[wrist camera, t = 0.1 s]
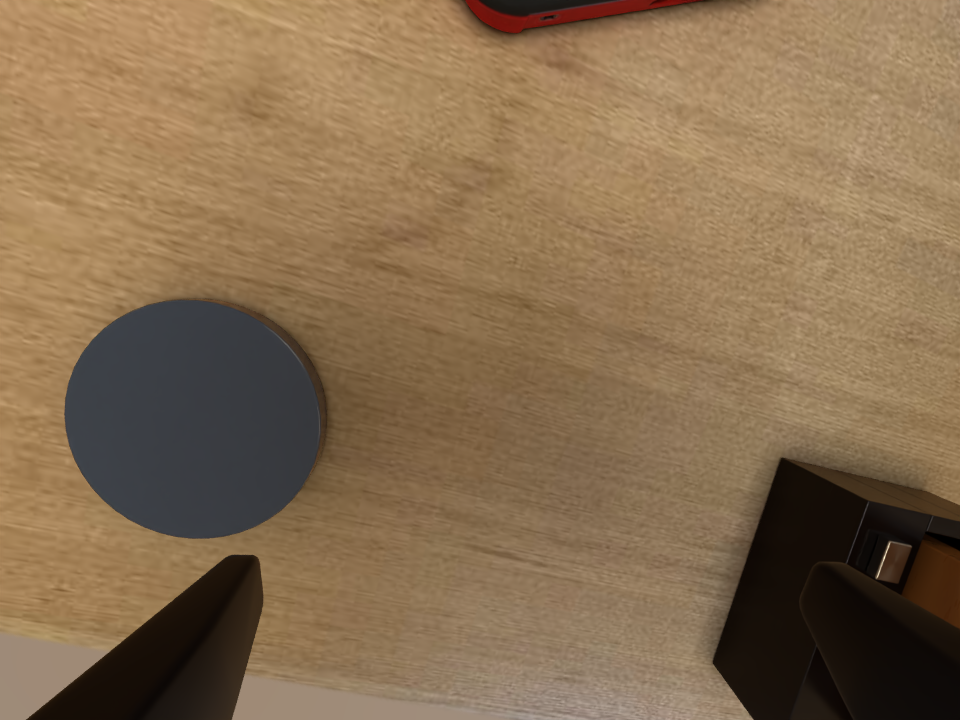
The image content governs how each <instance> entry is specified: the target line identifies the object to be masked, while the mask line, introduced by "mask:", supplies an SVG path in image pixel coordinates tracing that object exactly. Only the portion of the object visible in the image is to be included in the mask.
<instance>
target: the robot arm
mask: <svg viewBox="0 0 960 720" xmlns="http://www.w3.org/2000/svg"><path fill="white" fill-rule="evenodd" d="M799 603H800V610H801V613H802V615H803V617H804V620H805V622H806V624H807V626H808V628H809V630H810V632H811V634H812V636H813V638H814V640H815V643H816V645H817V647H818V649H819V651H820V653H821V655H822V657H823V659H824V661H825V663H826V666H827V668H828V670H829V672H830V674H831V676H832V678H833V680H834V682H835V684H836V686H837V688H838V691H839V693H840V695H841V697H842V699H843V701H844V703H845V705H846V707H847V709H848V711H849V712H850V714H851V716H852V718H853V720H960V629H959V628H957V627H955V626H954V625H952V624H950V623H948V622H947V621H945V620H943V619H941V618H940V617H938V616H936V615H934V614H933V613H931V612H929V611H927V610H926V609H924V608H922V607H920V606H919V605H917V604H915V603H913V602H912V601H910V600H908V599H906V598H905V597H903V596H901V595H899V594H898V593H896V592H894V591H892V590H891V589H889V588H887V587H885V586H884V585H882V584H880V583H879V582H877V581H875V580H873V579H872V578H870V577H868V576H866V575H865V574H863V573H861V572H859V571H858V570H856V569H854V568H852V567H851V566H849V565H847V564H845V563H841V562H818V563H816V564H815V565H814V566H813V567H812V569H811V571H810V574H809V576H808V579H807V581H806V583H805V586H804V588H803V591H802V593H801V596H800V601H799ZM262 607H263V587H262V578H261V570H260V562H259V559H258V557H256V556H254V555H230V556H228V557H226V558H225V559H223V560H222V561H221V562H220V563H218V564H217V565H216V566H215V567H213V568H212V569H211V570H210V571H208V572H207V573H206V574H205V575H204V576H202V577H201V578H200V579H199V580H197V581H196V582H195V583H194V584H192V585H191V586H190V587H189V588H188V589H186V590H185V591H184V592H183V593H181V594H180V595H179V596H178V597H176V598H175V599H174V600H173V601H172V602H170V603H169V604H168V605H167V606H165V607H164V608H163V609H162V610H160V611H159V612H158V613H157V614H156V615H154V616H153V617H152V618H151V619H149V620H148V621H147V622H146V623H144V624H143V625H142V626H141V627H140V628H138V629H137V630H136V631H135V632H133V633H132V634H131V635H130V636H128V637H127V638H126V639H125V640H124V641H122V642H121V643H120V644H119V645H117V646H116V647H115V648H114V649H112V650H111V651H110V652H109V653H108V654H106V655H105V656H104V657H103V658H102V659H100V660H99V661H98V662H96V663H95V664H94V665H93V666H92V667H91V668H89V669H88V670H87V671H85V672H84V673H83V674H82V675H81V676H79V677H78V678H77V679H76V680H74V681H73V682H72V683H71V684H69V685H68V686H67V687H66V688H64V689H63V690H62V691H61V692H60V693H58V694H57V695H56V696H55V697H54V698H52V699H51V700H50V701H49V702H48V703H46V704H45V705H44V706H42V707H41V708H40V709H39V710H37V711H36V712H35V713H34V714H33V715H31V716H30V717H29V718H28V719H26V720H232V717H233V713H234V710H235V706H236V703H237V699H238V696H239V692H240V689H241V685H242V681H243V678H244V674H245V670H246V667H247V663H248V659H249V656H250V652H251V649H252V645H253V641H254V638H255V634H256V630H257V627H258V623H259V619H260V616H261V612H262Z"/></svg>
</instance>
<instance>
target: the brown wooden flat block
mask: <svg viewBox="0 0 960 720" xmlns="http://www.w3.org/2000/svg"><path fill="white" fill-rule="evenodd" d="M901 596H903V597H905V598H906V599H908V600H910V601H912V602H913V603H915V604H917V605H919V606H920V607H922V608H924V609H926V610H927V611H929V612H931V613H933V614H934V615H936V616H938V617H940V618H941V619H943V620H945V621H947V622H948V623H950V624H952V625H954V626H955V627H957V628H959V629H960V551H959V550H957V549H955V548H953V547H951V546H949V545H947V544H945V543H943V542H941V541H939V540H937V539H935V538H933V537H931V536H929V535H927V534H924V537H923V540H922V542H921V545H920V548H919V550H918V553H917V556H916V558H915V561H914V563H913V566H912V569H911V571H910V574H909V577H908V579H907V582H906V585H905V587H904V590H903V592H902V595H901Z"/></svg>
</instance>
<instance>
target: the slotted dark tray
mask: <svg viewBox="0 0 960 720" xmlns="http://www.w3.org/2000/svg"><path fill="white" fill-rule="evenodd" d="M924 534H927V535H929V536H931V537H933V538H935V539H937V540H939V541H941V542H943V543H945V544H947V545H949V546H951V547H953V548H955V549H957V550H959V551H960V505H958V504H955V503H953V502H951V501H948V500H946V499H943V498H941V497H939V496H936V495H934V494H932V493H929V492H926V491H922V490H918V489H913V488H909V487H905V486H901V485H896V484H892V483H888V482H884V481H879V480H876V479H871V478H867V477H863V476H859V475H854V474H850V473H846V472H842V471H837V470H833V469H829V468H825V467H820V466H816V465H812V464H807V463H803V462H799V461H795V460H790V459H786V458H781V461H780V464H779V467H778V470H777V473H776V476H775V479H774V482H773V485H772V488H771V491H770V494H769V497H768V500H767V503H766V506H765V509H764V512H763V515H762V518H761V521H760V524H759V527H758V530H757V533H756V536H755V539H754V542H753V545H752V548H751V551H750V554H749V556H748V559H747V562H746V565H745V568H744V571H743V574H742V577H741V580H740V583H739V586H738V589H737V592H736V595H735V598H734V601H733V604H732V607H731V610H730V613H729V616H728V619H727V622H726V625H725V628H724V631H723V634H722V637H721V640H720V643H719V646H718V649H717V652H716V655H715V658H714V661H713V664H714V666H715V667H716V668H717V670H718V671H719V673H720V674H721V675H722V677H723V678H724V679H725V681H726V682H727V684H728V685H729V686H730V688H731V689H732V690H733V692H734V693H735V695H736V696H737V697H738V699H739V700H740V702H741V703H742V704H743V706H744V707H745V708H746V710H747V711H748V713H749V714H750V715H751V717H752V718H753V719H754V720H853V718H852V716H851V714H850V712H849V711H848V709H847V707H846V705H845V703H844V701H843V699H842V697H841V695H840V693H839V691H838V688H837V686H836V684H835V682H834V680H833V678H832V676H831V674H830V672H829V670H828V668H827V666H826V663H825V661H824V659H823V657H822V655H821V653H820V651H819V649H818V647H817V645H816V643H815V640H814V638H813V636H812V634H811V632H810V630H809V628H808V626H807V624H806V622H805V620H804V617H803V615H802V613H801V610H800V603H799V601H800V596H801V593H802V591H803V588H804V586H805V583H806V581H807V579H808V576H809V574H810V571H811V569H812V567H813V566H814V565H815V564H816V563H818V562H841V563H845V564H847V565H849V566H851V567H852V568H854V569H856V570H858V571H859V572H861V573H863V574H865V575H866V576H868V577H870V578H872V579H873V580H875V581H877V582H879V583H880V584H882V585H884V586H885V587H887V588H889V589H891V590H892V591H894V592H896V593H898V594H899V595H902V592H903V590H904V587H905V585H906V582H907V579H908V577H909V574H910V571H911V569H912V566H913V563H914V561H915V558H916V556H917V553H918V550H919V548H920V545H921V542H922V540H923V537H924Z"/></svg>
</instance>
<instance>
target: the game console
mask: <svg viewBox="0 0 960 720" xmlns="http://www.w3.org/2000/svg"><path fill="white" fill-rule="evenodd" d="M465 1H466V3H467V4H468V6H469V8H470V9H471V10H472V11H473V12H474V13H475V14H476V16H477V17H478V18H479V19H481V20H482V21H483V22H485V23H486V24H488V25H490V26H492V27H494V28H496V29H499V30H501V31H505V32H511V33H519V32H521V31H522V30H523V29H524V28H525V29H526V28H533V27H539V26H546V25H552V24H559V23H565V22H571V21H577V20H584V19H590V18H596V17H602V16H608V15H614V14H621V13H627V12H633V11H640V10H646V9H652V8H658V7H664V6H670V5H676V4H682V3H688V2H695V1H702V0H465Z"/></svg>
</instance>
